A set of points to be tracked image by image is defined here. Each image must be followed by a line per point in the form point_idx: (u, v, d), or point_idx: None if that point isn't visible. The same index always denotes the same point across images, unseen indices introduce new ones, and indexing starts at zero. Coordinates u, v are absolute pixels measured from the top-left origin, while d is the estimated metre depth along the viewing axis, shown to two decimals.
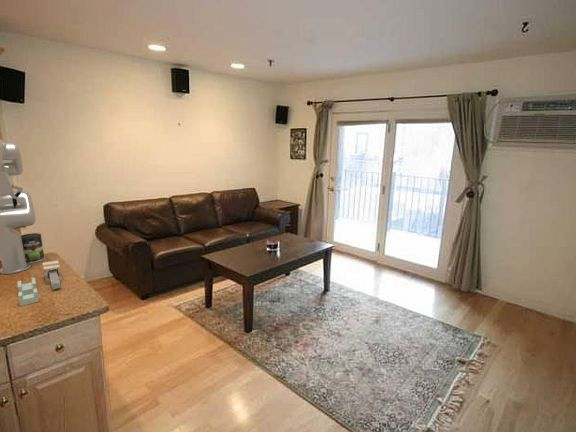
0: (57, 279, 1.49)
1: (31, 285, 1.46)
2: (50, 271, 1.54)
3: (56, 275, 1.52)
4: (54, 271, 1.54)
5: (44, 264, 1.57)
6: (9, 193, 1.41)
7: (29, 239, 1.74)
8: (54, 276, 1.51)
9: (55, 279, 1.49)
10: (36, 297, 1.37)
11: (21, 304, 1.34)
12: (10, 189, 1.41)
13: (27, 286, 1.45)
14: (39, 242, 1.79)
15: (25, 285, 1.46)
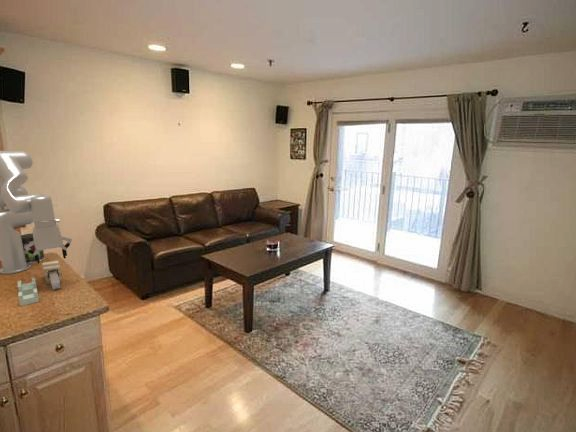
0: (57, 279, 1.49)
1: (31, 285, 1.46)
2: (50, 271, 1.54)
3: (56, 275, 1.52)
4: (54, 271, 1.54)
5: (44, 264, 1.57)
6: (60, 245, 1.47)
7: (29, 239, 1.74)
8: (54, 276, 1.51)
9: (55, 279, 1.49)
10: (36, 297, 1.37)
11: (21, 304, 1.34)
12: (61, 241, 1.47)
13: (27, 286, 1.45)
14: None
15: (25, 285, 1.46)
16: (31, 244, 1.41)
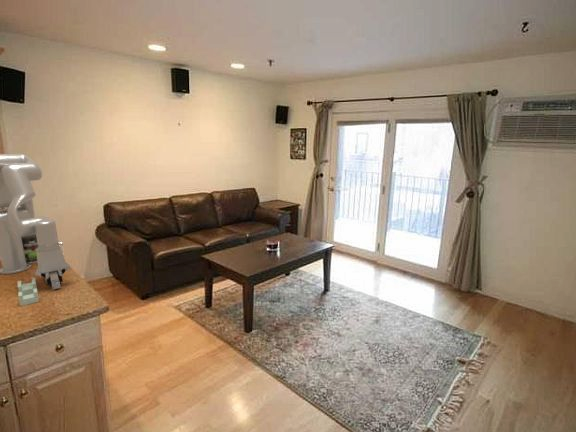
0: (57, 279, 1.49)
1: (31, 285, 1.46)
2: None
3: (56, 275, 1.52)
4: (54, 271, 1.54)
5: None
6: (63, 267, 1.50)
7: (29, 239, 1.74)
8: (54, 276, 1.51)
9: (55, 279, 1.49)
10: (36, 297, 1.37)
11: (21, 304, 1.34)
12: (64, 264, 1.50)
13: (27, 286, 1.45)
14: None
15: (25, 285, 1.46)
16: (37, 271, 1.45)
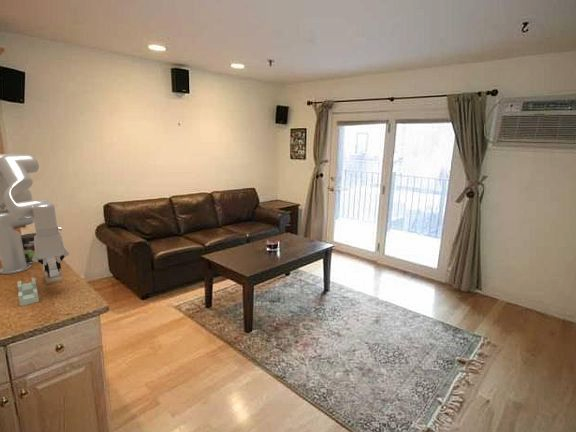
0: (55, 266, 1.42)
1: (31, 285, 1.46)
2: (48, 258, 1.47)
3: (54, 262, 1.44)
4: (52, 258, 1.47)
5: None
6: (62, 254, 1.42)
7: (29, 239, 1.74)
8: (52, 263, 1.44)
9: (53, 266, 1.41)
10: (36, 297, 1.37)
11: (21, 304, 1.34)
12: (63, 250, 1.42)
13: (27, 286, 1.45)
14: None
15: (25, 285, 1.46)
16: (35, 257, 1.37)
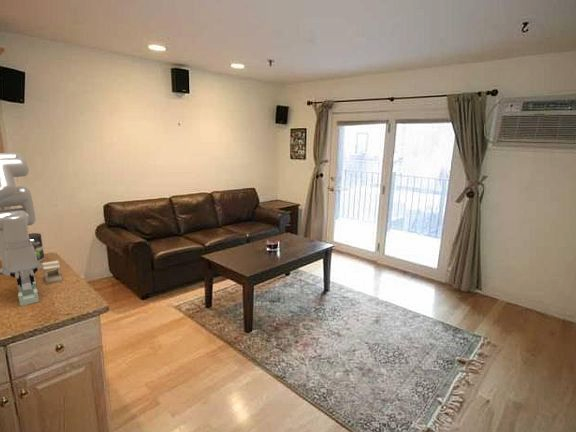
0: (28, 279, 1.39)
1: (31, 285, 1.46)
2: (22, 271, 1.43)
3: (28, 275, 1.41)
4: (26, 271, 1.44)
5: (44, 264, 1.57)
6: (35, 266, 1.39)
7: None
8: (25, 276, 1.40)
9: (26, 280, 1.38)
10: (36, 297, 1.37)
11: (21, 304, 1.34)
12: (36, 262, 1.39)
13: None
14: (39, 242, 1.79)
15: None
16: (6, 271, 1.34)
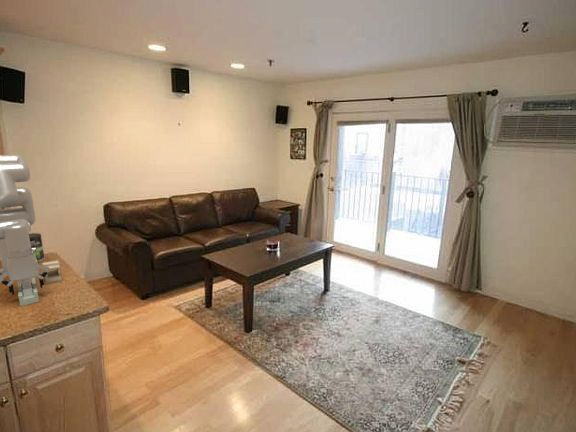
0: (29, 286, 1.40)
1: None
2: (23, 280, 1.45)
3: (29, 283, 1.42)
4: (28, 280, 1.45)
5: (44, 264, 1.57)
6: (36, 275, 1.40)
7: None
8: (26, 283, 1.41)
9: (27, 286, 1.39)
10: (36, 297, 1.37)
11: (21, 304, 1.34)
12: (37, 271, 1.40)
13: None
14: (39, 242, 1.79)
15: None
16: (5, 275, 1.34)
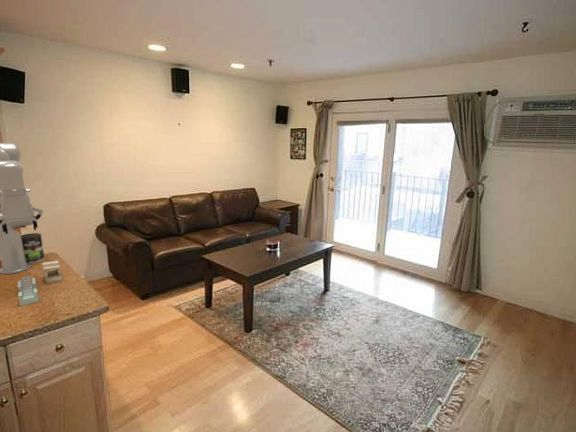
0: (29, 286, 1.40)
1: None
2: (23, 280, 1.45)
3: (29, 283, 1.42)
4: (28, 280, 1.45)
5: (44, 264, 1.57)
6: (30, 216, 1.41)
7: (29, 239, 1.74)
8: (26, 283, 1.41)
9: (27, 286, 1.39)
10: (36, 297, 1.37)
11: (21, 304, 1.34)
12: (31, 212, 1.41)
13: None
14: (39, 242, 1.79)
15: None
16: None
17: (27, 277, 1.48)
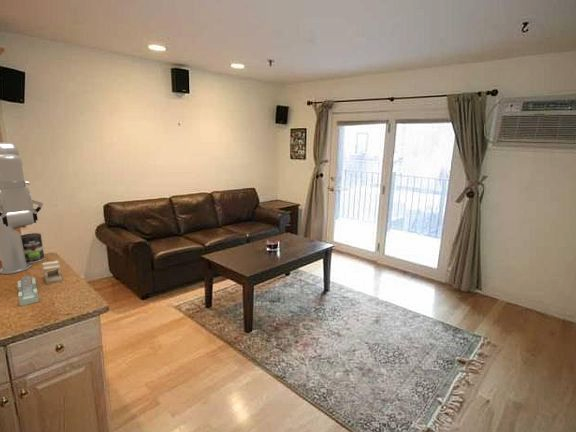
0: (29, 286, 1.40)
1: None
2: (23, 280, 1.45)
3: (29, 283, 1.42)
4: (28, 280, 1.45)
5: (44, 264, 1.57)
6: (30, 208, 1.42)
7: (29, 239, 1.74)
8: (26, 283, 1.41)
9: (27, 286, 1.39)
10: (36, 297, 1.37)
11: (21, 304, 1.34)
12: (31, 204, 1.42)
13: None
14: (39, 242, 1.79)
15: None
16: None
17: (27, 277, 1.48)
